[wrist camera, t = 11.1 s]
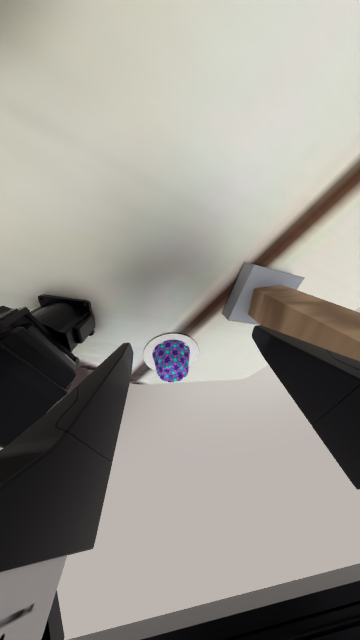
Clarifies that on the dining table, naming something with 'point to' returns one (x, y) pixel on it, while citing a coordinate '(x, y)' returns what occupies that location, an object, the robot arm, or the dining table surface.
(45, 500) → the robot arm
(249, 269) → the base brick
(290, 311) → the column
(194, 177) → the dining table surface
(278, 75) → the dining table surface
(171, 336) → the purple patterned hat
